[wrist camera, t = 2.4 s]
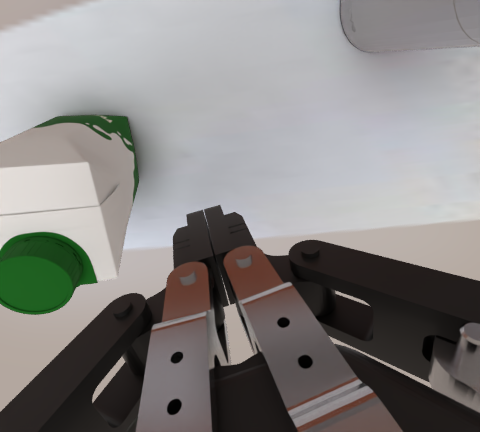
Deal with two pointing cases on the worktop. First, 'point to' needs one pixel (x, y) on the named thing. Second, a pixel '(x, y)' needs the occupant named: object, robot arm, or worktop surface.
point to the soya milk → (63, 208)
